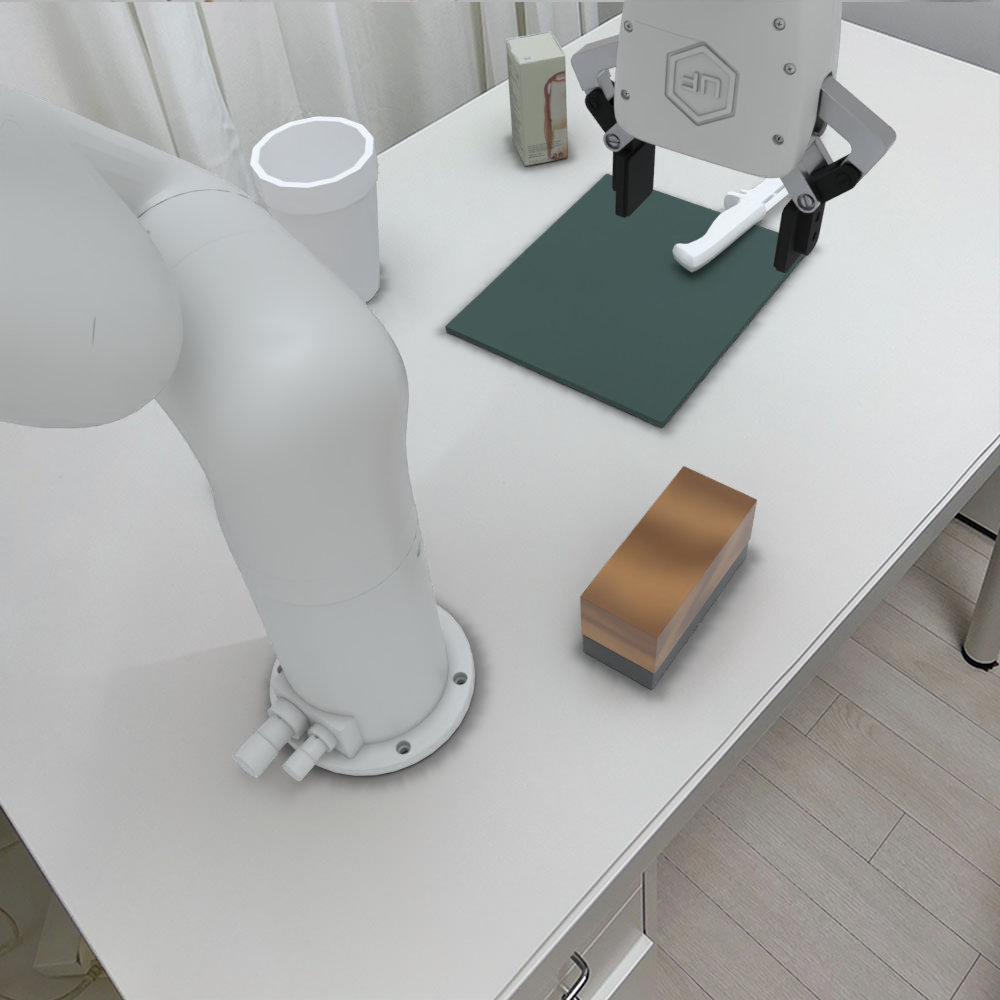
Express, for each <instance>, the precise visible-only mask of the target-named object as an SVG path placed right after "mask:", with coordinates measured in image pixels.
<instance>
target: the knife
mask: <svg viewBox="0 0 1000 1000" xmlns="http://www.w3.org/2000/svg"><path fill="white" fill-rule="evenodd" d="M739 192H740V193H739ZM739 192H736V191H727V192H726V193H725V195H724V198H723V207H724V211H723V212H720V213H721V214H720V215H719V216H718V217H717V218H716V219H715V221H714V222H713V223H712V225H711V226H710V228H709V229H708V231H707V233H706V234H705V235H704V236H703V237H702V238H700V239H698V240H696V241H693V242H691V243H689V244H680V243H679V244H676V245H675V246H674V248H673V251H672V252H673V256H674V258H675V259H676V261H677V262H678V263H679V264H680V265H682V266H683V267H684V268H686V269H687V270H689V271H690V272H694V271H697V270H698V269H700V268H702V267H703V266H704V265H706V264H707V263H709V262H710V261H711V260H713V259H714V258H715V257H716V256H718V255H719V254H720V253H721V252H722V251H724V250H725V249H726V248H727V247H728V246H730V245H731V244H732V243H733V242H734V241H736V240H737V239H738V238H739V237H740V236H742V235H743V234H744V233H745V232H746V231H748V230H749V229H750V228H751V227H752V226H754V225H757V224H758V223H759V222H760V221H761V220H763V219H764V218H765V217H766V214H767V212H768V211H769V210H771V209H772V208H773V207H774V206H776V205H777V204H778V203H780V201H782V200H783V199H784V198H785V197H787V195H789V193H788V191H787V189H786V188H785V186H784V184H783V183H782V181H781V179H780V178H764V180H762V181H761V183H759V184H758V185H757V186H755V187H753V188H752V189H742V188H741V189H740V191H739Z"/></svg>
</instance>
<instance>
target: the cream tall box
mask: <svg viewBox="0 0 1000 1000" xmlns="http://www.w3.org/2000/svg"><path fill="white" fill-rule="evenodd" d="M505 51H506V52H505V53H506V61H507V62H506V64H507V65H506V66H507V78H508V93H509V94H508V95H509V109H510V110H509V111H510V124H511V139H512V142H513V145H514V147H515V149H516V151H517V153H518V155H519V157H520V159H521V161H522V162H523V165H524V166H525V167H527V166H532V165H538V164H543V163H549V162H553V161H554V162H555V161H558V160H563V159H568V158H569V138H568V108H567V106H568V105H567V76H566V75H567V74H566V73H567V72H566V71H567V69H566V66H567V65H566V54H565V51H564V50H563V48H562V46H561V44H560V43H559V41H558V39H557V38H556V36H555V35H554V34H553V33H552V30H551V31H550V30H549V31H544V32H537V33H532V34H527V35H526V34H525V35H521V36H515V37H508V38H505Z"/></svg>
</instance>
